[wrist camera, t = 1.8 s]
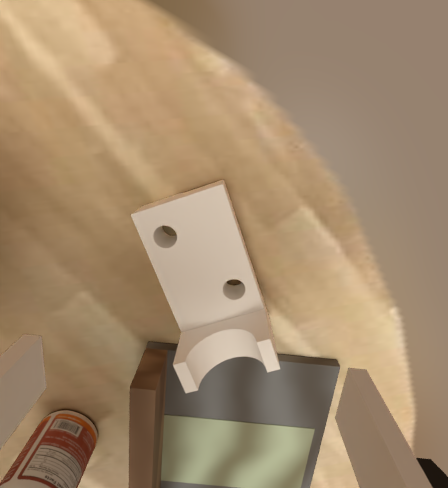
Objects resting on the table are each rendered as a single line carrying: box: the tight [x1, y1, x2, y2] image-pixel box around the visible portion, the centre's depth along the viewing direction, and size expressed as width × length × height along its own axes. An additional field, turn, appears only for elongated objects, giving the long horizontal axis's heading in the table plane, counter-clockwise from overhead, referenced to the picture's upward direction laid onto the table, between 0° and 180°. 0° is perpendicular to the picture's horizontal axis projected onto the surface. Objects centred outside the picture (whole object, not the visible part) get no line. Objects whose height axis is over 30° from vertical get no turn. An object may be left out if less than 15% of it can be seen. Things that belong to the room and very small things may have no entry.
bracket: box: [131, 179, 280, 393], centre depth 25 cm, size 13×7×8 cm, turn 19°
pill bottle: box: [0, 410, 97, 488], centre depth 29 cm, size 6×6×11 cm
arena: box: [129, 342, 340, 488], centre depth 32 cm, size 18×24×6 cm
